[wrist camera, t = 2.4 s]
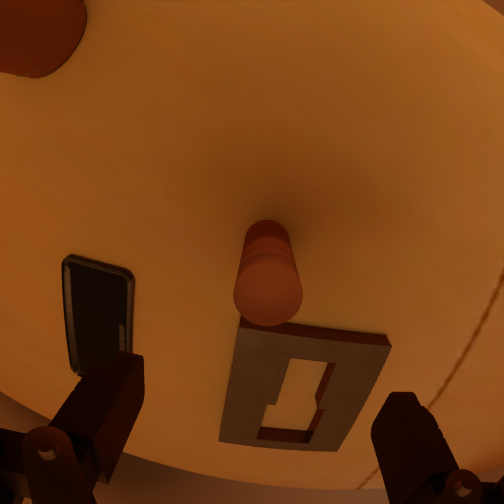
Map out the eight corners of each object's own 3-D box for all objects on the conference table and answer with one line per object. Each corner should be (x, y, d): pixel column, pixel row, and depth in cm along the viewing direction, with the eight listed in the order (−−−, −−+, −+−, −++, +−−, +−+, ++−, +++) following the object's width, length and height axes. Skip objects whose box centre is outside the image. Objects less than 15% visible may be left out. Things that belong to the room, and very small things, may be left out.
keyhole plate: (240, 315, 28) (239, 327, 26) (385, 335, 28) (392, 346, 26) (220, 428, 32) (218, 441, 31) (334, 439, 33) (336, 451, 31)
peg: (249, 216, 25) (239, 258, 15) (292, 224, 25) (309, 270, 15) (241, 258, 26) (228, 320, 16) (284, 265, 26) (294, 330, 16)
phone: (71, 373, 30) (61, 254, 26) (75, 367, 32) (67, 251, 27) (131, 394, 31) (133, 274, 26) (134, 388, 32) (138, 269, 27)
